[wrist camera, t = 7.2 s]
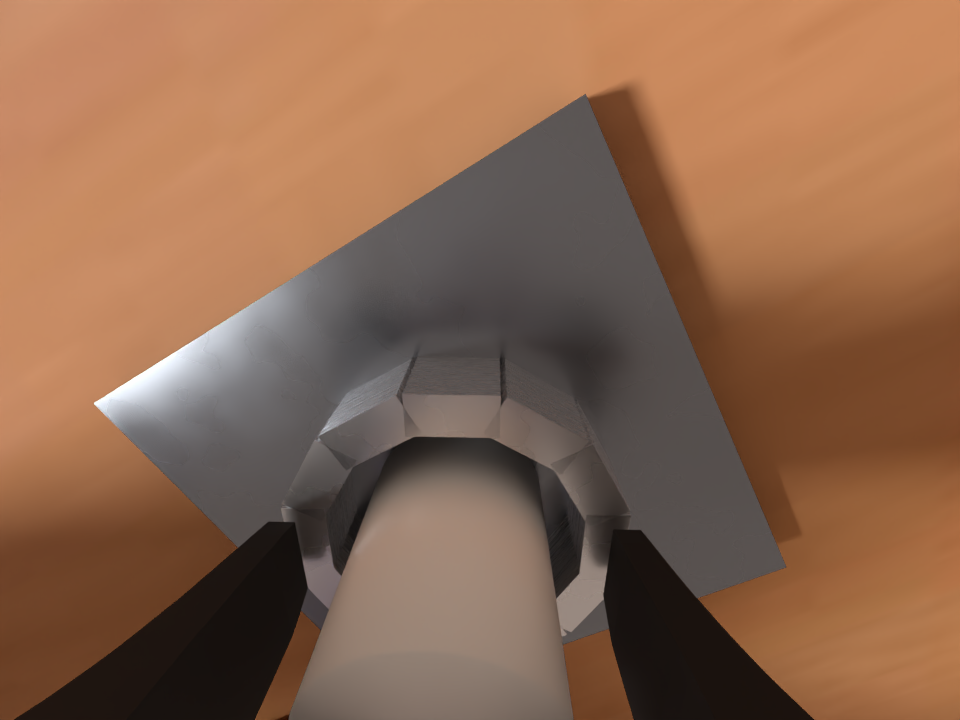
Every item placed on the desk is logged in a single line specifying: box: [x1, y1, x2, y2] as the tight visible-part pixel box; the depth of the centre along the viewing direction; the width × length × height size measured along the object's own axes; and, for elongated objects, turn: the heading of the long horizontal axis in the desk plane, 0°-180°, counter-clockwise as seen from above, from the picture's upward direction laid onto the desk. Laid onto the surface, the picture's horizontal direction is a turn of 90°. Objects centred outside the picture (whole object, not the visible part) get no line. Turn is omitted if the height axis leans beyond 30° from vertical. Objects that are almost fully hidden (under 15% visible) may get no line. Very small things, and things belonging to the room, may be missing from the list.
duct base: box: [94, 94, 786, 644], centre depth 12 cm, size 14×14×3 cm
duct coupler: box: [288, 437, 574, 720], centre depth 10 cm, size 4×4×6 cm
